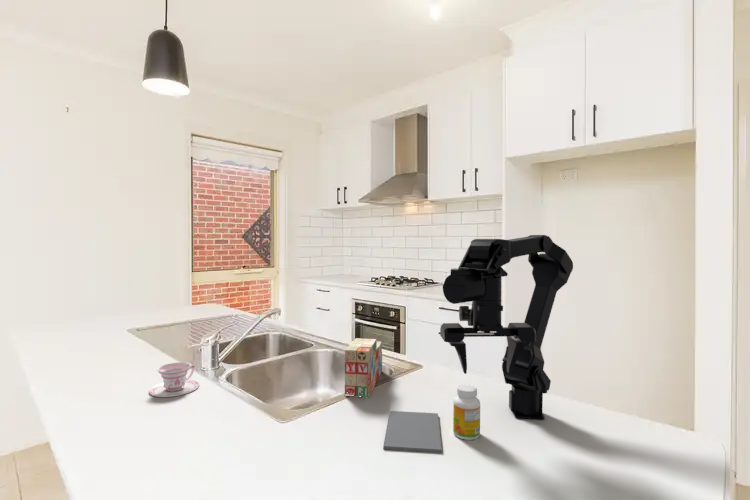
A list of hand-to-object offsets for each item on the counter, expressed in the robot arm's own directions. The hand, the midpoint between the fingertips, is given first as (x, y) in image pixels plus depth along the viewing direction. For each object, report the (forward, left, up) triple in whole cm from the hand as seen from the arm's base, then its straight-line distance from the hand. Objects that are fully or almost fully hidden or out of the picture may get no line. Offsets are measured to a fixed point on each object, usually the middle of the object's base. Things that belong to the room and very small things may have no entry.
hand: (486, 372), depth 85 cm
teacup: (+79, -14, -13) cm, 81 cm away
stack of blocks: (+29, -25, -13) cm, 40 cm away
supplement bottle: (+4, +2, -13) cm, 13 cm away
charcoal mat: (+15, +2, -12) cm, 20 cm away
